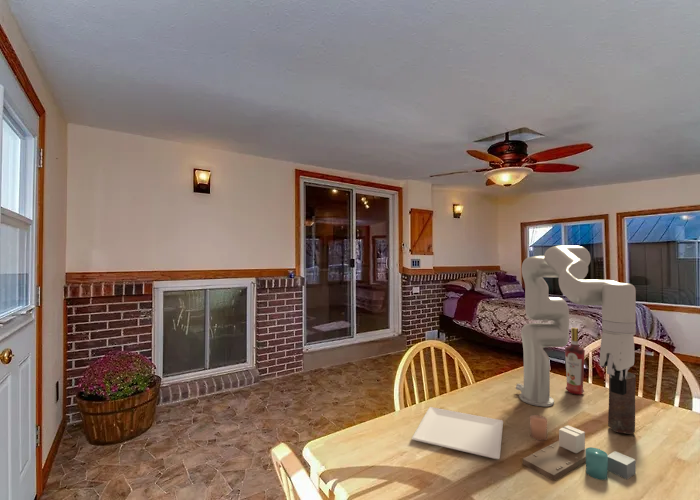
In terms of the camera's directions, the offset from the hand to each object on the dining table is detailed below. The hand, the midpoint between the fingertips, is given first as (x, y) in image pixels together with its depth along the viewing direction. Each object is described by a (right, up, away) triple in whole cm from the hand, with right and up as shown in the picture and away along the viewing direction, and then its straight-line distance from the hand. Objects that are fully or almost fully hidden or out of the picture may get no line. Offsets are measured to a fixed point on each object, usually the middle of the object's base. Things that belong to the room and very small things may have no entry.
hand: (618, 392), depth 100 cm
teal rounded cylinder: (-7, -22, -1) cm, 23 cm away
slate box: (+1, -22, 0) cm, 22 cm away
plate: (-38, -23, +21) cm, 49 cm away
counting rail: (-14, -22, +5) cm, 26 cm away
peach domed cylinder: (-12, -22, +19) cm, 32 cm away
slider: (-7, -20, +9) cm, 23 cm away
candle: (+18, -22, +22) cm, 36 cm away
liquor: (+23, -22, +56) cm, 64 cm away
